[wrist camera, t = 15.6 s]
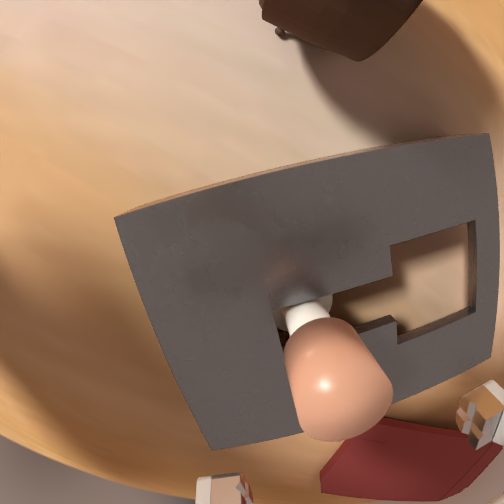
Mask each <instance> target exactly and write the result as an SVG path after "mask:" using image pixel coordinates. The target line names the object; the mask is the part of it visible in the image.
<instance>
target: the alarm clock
mask: <svg viewBox="0 0 504 504" xmlns="http://www.w3.org/2000/svg"><path fill="white" fill-rule="evenodd" d="M422 1H423V0H259V4H260V6H261V8H262V19H263V20H265V21H267V22H269V23H271V24H273V25H275V26H277V28H276V29H275V33H276V34H277V35H282V34H283V33H284V30H285V31H287V32H289V33H291V34H293V35H295V36H297V37H298V38H300V39H302V40H304V41H307V42H309V43H311V44H313V45H316V46H318V47H321V48H324V49H327V50H330V51H332V52H335V53H338V54H341V55H343V56H346V57H348V58H350V59H352V60H354V61H362V60H364V59H366V58H368V57H370V56H371V55H373V54H374V53H375V52H376V51H378V50H379V49H380V48H381V47H382V46H383V45H384V44H385V43H386V42H387V41H388V40H389V39H390V38H391V37H392V36H393V35H394V34H395V33H396V32H397V31H398V30H399V29H400V28H401V26H402V25H403V24H404V23H405V22H406V21H407V19H408V18H409V17H410V16H411V14H412V13H413V12H414V11H415V10H416V8H417V7H418V6H419V5H420V3H421V2H422Z"/></svg>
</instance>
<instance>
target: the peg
mask: <svg viewBox="0 0 504 504" xmlns="http://www.w3.org/2000/svg"><path fill="white" fill-rule="evenodd" d="M332 301H333V295H332V294H330V295H327V296H323V297H320V298H316V299H313V300H309V301H305V302H302V303H298V304H294V305H291V306H287V307H283V308H279V309H276V310H272V312H273V316H274V319H275V323H276V327H277V328H279V329H281V330H283V331H286V332H289V334H290V338H289V339H288V341H287V343H286V345H285V348H284V353H283V359H284V364H285V368H286V372H287V376H288V380H289V384H290V388H291V392H292V396H293V400H294V404H295V408H296V412H297V416H298V420H299V424H300V426H301V428H302V430H303V431H304V432H305V433H306V434H307V435H308V436H310V437H312V438H314V439H317V440H321V441H342V440H346V439H350V438H353V437H356V436H358V435H360V434H362V433H364V432H366V431H367V430H369V429H370V428H372V427H373V426H374V425H376V424H377V423H378V422H379V421H380V420H381V419H382V418H383V416H384V415H385V414H386V412H387V411H388V409H389V407H390V405H391V402H392V399H393V387H392V384H391V382H390V380H389V379H388V377H387V376H386V374H385V373H384V371H383V370H382V369H381V367H380V366H379V364H378V363H377V361H376V360H375V358H374V357H373V355H372V354H371V352H370V351H369V350H368V348H367V347H366V345H365V344H364V342H363V341H362V339H361V338H360V337H359V335H358V334H357V332H356V331H355V329H354V328H353V327H352V326H351V325H350V324H349V323H347V322H346V321H344V320H342V319H338V318H333V317H330V315H329V312H330V309H331V306H332Z"/></svg>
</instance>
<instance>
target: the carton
mask: <svg viewBox="0 0 504 504" xmlns="http://www.w3.org/2000/svg"><path fill="white" fill-rule="evenodd" d="M467 438H468V434H465V433H462V432H461V431H458V430H451V429H444V428H438V427H432V426H426V425H420V424H415V423H410V422H404V421H399V420H395V419H390V418H385V417H383V418H382V419H381V420H380V421H379V422H378V423H377V424H376V425H374V426H373V427H372V428H370V429H369V430H367V431H366V432H364V433H362V434H360V435H358V436H356V437H353V438H350V439H346V440H345V441H344V442H343V444H342V445H341V446H340V448H339V449H338V450H337V451H336V453H335V454H334V455H333V457H332V458H331V459H330V460H329V462H328V463H327V464H326V465H325V466H324V468H323V469H322V470H321V471H320V481H321V493H327V494H333V495H340V496H348V497H356V498H366V499H377V500H393V501H440V500H443V499H445V498H448V497H450V496H453V495H455V494H457V493H460V492H461V491H462V490H463V489H464V488H466V487H468V486H469V485H470V484H471V483H472V482H473V481H474V480H475V479H476V478H477V477H478V476H479V475H480V474H481V473H482V472H483V471H484V469H485V468H486V467H487V466H488V465H489V464H490V463H491V461H493V459H494V458H495V457H496V456H497V455H498V454H499V452H500V451H501V450H502V447H503V445H500V444H498V443H495V442H493V440H492V441H490V442H489V443H487V444H486V445H484V446H482V447H480V448H479V449H477V450H475V449H474V448H473V447H472V445H471V444H470V443H469V441H468V440H467Z"/></svg>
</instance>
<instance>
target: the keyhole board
mask: <svg viewBox="0 0 504 504" xmlns="http://www.w3.org/2000/svg"><path fill="white" fill-rule="evenodd" d="M114 220H115V223H116V226H117V230H118V233H119V236H120V239H121V242H122V245H123V248H124V251H125V254H126V257H127V260H128V263H129V266H130V269H131V271H132V274H133V277H134V280H135V282H136V285H137V288H138V291H139V293H140V296H141V299H142V301H143V304H144V306H145V309H146V311H147V314H148V316H149V319H150V321H151V324H152V326H153V329H154V331H155V334H156V336H157V338H158V341H159V343H160V345H161V348H162V350H163V352H164V355H165V357H166V359H167V361H168V364H169V366H170V368H171V370H172V372H173V375H174V377H175V379H176V381H177V383H178V385H179V387H180V389H181V392H182V394H183V396H184V398H185V400H186V402H187V404H188V406H189V408H190V410H191V412H192V414H193V416H194V418H195V420H196V422H197V423H198V425H199V427H200V429H201V431H202V433H203V435H204V437H205V439H206V440H207V442H208V444H209V446H210V448H211V449H212V450H217V449H223V448H230V447H236V446H242V445H247V444H253V443H258V442H263V441H268V440H272V439H277V438H281V437H286V436H290V435H294V434H298V433H302V432H304V431H303V430H302V428H301V426H300V424H299V420H298V416H297V412H296V408H295V404H294V400H293V396H292V392H291V388H290V384H289V380H288V376H287V372H286V368H285V364H284V359H283V353H284V348H285V346H284V347H281V343H280V339H279V335H278V331H277V327H276V323H275V319H274V316H273V312H272V310H276V309H279V308H283V307H287V306H291V305H294V304H298V303H302V302H305V301H309V300H313V299H316V298H320V297H323V296H327V295H330V294H334V293H337V292H341V291H344V290H348V289H351V288H354V287H358V286H361V285H364V284H368V283H371V282H374V281H377V280H380V279H384V278H387V277H390V276H393V272H392V262H391V254H390V245H393V244H397V243H400V242H404V241H407V240H410V239H414V238H417V237H420V236H424V235H427V234H430V233H434V232H437V231H440V230H444V229H447V228H450V227H453V226H457V225H460V224H463V223H466V222H467V227H468V246H469V301H468V307H467V308H465V309H462V310H460V311H458V312H456V313H453V314H451V315H449V316H446V317H444V318H442V319H439V320H437V321H434V322H432V323H429V324H427V325H424V326H422V327H419V328H417V329H414V330H411V331H409V332H406V333H404V334H401V335H398V336H397V323H396V320H395V319H394V318H393V317H392V316H391V315H387V316H384V317H382V318H379V319H376V320H373V321H370V322H366V323H363V324H360V325H357V326H354V327H353V328H354V329H355V331H356V332H357V334H358V335H359V337H360V338H361V339H362V341H363V342H364V344H365V345H366V347H367V348H368V350H369V351H370V352H371V354H372V355H373V357H374V358H375V360H376V361H377V363H378V364H379V366H380V367H381V369H382V370H383V371H384V373H385V374H386V376H387V377H388V379H389V380H390V382H391V384H392V387H393V399H392V402H391V404H393V403H395V402H398V401H400V400H403V399H405V398H408V397H410V396H412V395H415V394H417V393H420V392H422V391H424V390H426V389H429V388H431V387H433V386H435V385H437V384H440V383H442V382H444V381H446V380H448V379H450V378H452V377H454V376H456V375H458V374H460V373H462V372H464V371H466V370H468V369H470V368H472V367H474V366H476V365H477V364H479V363H481V362H483V361H485V360H487V359H488V358H490V357H491V351H492V345H493V338H494V331H495V322H496V313H497V302H498V288H499V264H500V235H499V211H498V197H497V186H496V177H495V168H494V161H493V154H492V148H491V142H490V136H489V133H486V134H467V135H452V136H443V137H436V138H429V139H422V140H416V141H409V142H403V143H397V144H391V145H385V146H380V147H374V148H369V149H363V150H358V151H353V152H348V153H343V154H338V155H333V156H328V157H323V158H318V159H314V160H309V161H305V162H300V163H296V164H291V165H287V166H283V167H279V168H274V169H270V170H266V171H262V172H258V173H254V174H250V175H246V176H242V177H238V178H234V179H231V180H227V181H223V182H219V183H216V184H212V185H209V186H205V187H201V188H198V189H194V190H191V191H187V192H184V193H181V194H177V195H174V196H170V197H167V198H164V199H161V200H157V201H154V202H151V203H148V204H144V205H141V206H138V207H136V208H134V209H132V210H129V211H127V212H125V213H123V214H120V215H118V216H116V217H114Z"/></svg>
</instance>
